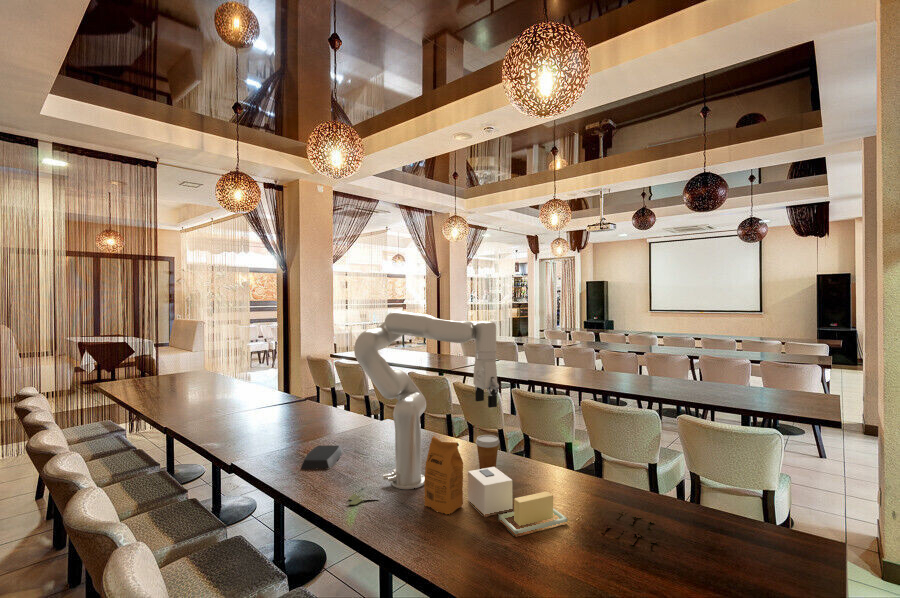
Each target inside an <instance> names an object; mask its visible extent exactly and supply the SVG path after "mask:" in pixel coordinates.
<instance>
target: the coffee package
mask: <svg viewBox="0 0 900 598" xmlns="http://www.w3.org/2000/svg"><path fill="white" fill-rule="evenodd" d="M459 446H460V444H459V443H458V442H454V441H453V442H452V441H441V440H440V439H438V437H436V436H435V435H434V436H432V437H431V440H430V444H429V447H428V453H427V457H426V461H425V470H424V471H425V472H424V477H425V480H424V485H423V490H424V506H425V507H426V506H428V507H427V508H430V507H431V508H430V509H432V510H433V509H434V510H435V511H438V512H442V513H441V514H443V513H445V515H447V514H449V515H451V514H453V513H454V512H455V511H456V510H458V509H459V508H461V507H462V506H463V505H464V492H463V486H464V462H463V458H462V456H461V453H460V450H459ZM434 510H433V511H434ZM435 511H434V512H435ZM438 512H437V513H438ZM450 513H451V514H450Z"/></svg>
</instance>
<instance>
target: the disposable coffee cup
mask: <svg viewBox="0 0 900 598" xmlns="http://www.w3.org/2000/svg"><path fill="white" fill-rule="evenodd" d="M475 444H476V448H477V457H478V465H479V469H480V468H481V469H484V468H489V467H495V468H497V459H498V458H497V457H498V452H499V451H498V449H499V444H500V440H499V437H498V436H496V435H491V434H484V435H478V436H477V437H476V440H475Z"/></svg>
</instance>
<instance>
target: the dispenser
mask: <svg viewBox="0 0 900 598" xmlns="http://www.w3.org/2000/svg"><path fill="white" fill-rule="evenodd" d="M468 500H469V501H470V502H471V503H473V504H474V505H475V506H476V507H477V508H478V509H479V510H480V511H481V512H482V513H483V514H484V515H485V514H490V513H494V512H499V511H504V510H509V509H513V479H512V478H510V477H509V476H508V475H507V474H505V473H503V472H502V471H501V470H499V469H498V468H497V467H496V468H495V467H489V468H484V469H480V468H477V469H473V470H468V471H467V501H468ZM469 501H468V502H469ZM470 502H469V503H470ZM471 503H470V504H471Z"/></svg>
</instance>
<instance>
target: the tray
mask: <svg viewBox="0 0 900 598" xmlns="http://www.w3.org/2000/svg"><path fill="white" fill-rule="evenodd" d="M553 513H554V515H557V516H558V517H559V518H560V519H559V518H558V519H557V520H555V519H554V520H553V521H549V522H545V523H540V524H536V525H532V526H528V527H524V528H520V529H516V528H515V527H514V526H513V525H512V524H511V523H509V522H508V521H507V520H506V519H505V518H508V517H512V516H514V511H512V512H507V513H503V514H498V520H499V519H500V520H502V521H503V522H504V523H505V524H506V525H507V526H508V527H509V528H510V529H511V530H512V531H513V532H514V533H515V534H518V533H523V532H527V531H531V530H535V529H539V528H544V527H548V526H552V525H556V524H560V523H563V522H567V521H568V517H566V515H563V514H562V513H561V512H559V511H558V510H557V509H555V508H554V507H553Z"/></svg>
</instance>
